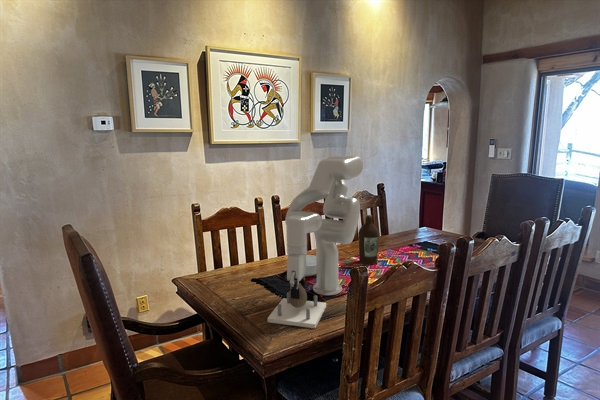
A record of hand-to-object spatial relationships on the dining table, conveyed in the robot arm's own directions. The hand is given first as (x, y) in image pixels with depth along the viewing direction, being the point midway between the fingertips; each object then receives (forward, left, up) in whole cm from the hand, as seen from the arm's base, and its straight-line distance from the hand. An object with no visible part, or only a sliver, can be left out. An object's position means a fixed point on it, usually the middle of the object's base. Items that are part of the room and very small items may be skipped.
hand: (297, 293), depth 149 cm
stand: (0, 0, -8) cm, 8 cm away
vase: (0, 0, -5) cm, 5 cm away
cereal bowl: (-42, -8, -8) cm, 43 cm away
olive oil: (-66, +19, -8) cm, 69 cm away
